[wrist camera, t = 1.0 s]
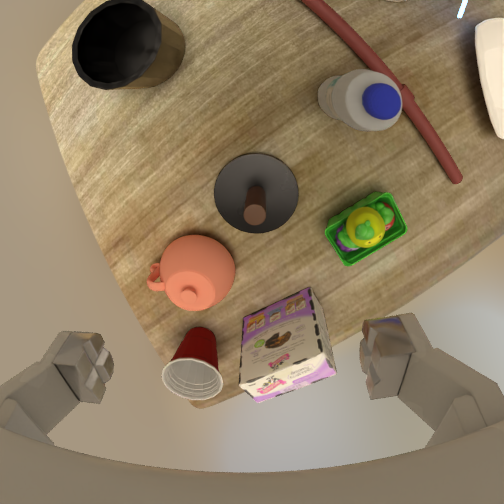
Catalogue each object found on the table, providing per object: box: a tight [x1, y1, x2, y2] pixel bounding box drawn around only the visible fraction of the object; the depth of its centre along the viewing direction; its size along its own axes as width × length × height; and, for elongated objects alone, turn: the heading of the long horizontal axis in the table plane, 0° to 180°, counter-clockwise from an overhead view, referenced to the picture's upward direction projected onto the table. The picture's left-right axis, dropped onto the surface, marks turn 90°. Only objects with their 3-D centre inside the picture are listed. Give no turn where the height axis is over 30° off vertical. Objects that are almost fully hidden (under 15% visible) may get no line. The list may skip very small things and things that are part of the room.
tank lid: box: [214, 153, 298, 233], centre depth 44 cm, size 12×12×9 cm
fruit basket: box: [325, 192, 407, 266], centre depth 44 cm, size 11×9×11 cm
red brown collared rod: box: [301, 0, 463, 184], centre depth 37 cm, size 45×3×3 cm, turn 46°
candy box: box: [239, 287, 337, 403], centre depth 51 cm, size 14×6×16 cm, turn 121°
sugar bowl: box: [147, 235, 235, 311], centre depth 49 cm, size 12×14×10 cm
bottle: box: [318, 69, 402, 131], centre depth 32 cm, size 7×7×20 cm
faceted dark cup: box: [72, 0, 185, 90], centre depth 33 cm, size 12×12×12 cm
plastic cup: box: [161, 327, 223, 400], centre depth 57 cm, size 11×11×12 cm
